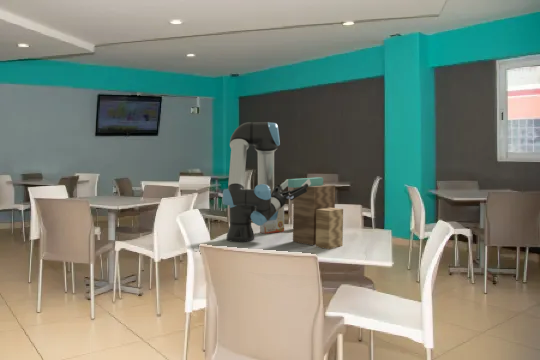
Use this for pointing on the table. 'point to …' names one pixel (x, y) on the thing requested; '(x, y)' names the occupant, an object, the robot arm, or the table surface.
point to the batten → (299, 182)
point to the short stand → (329, 228)
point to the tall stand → (310, 211)
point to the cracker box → (274, 224)
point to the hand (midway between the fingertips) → (299, 181)
